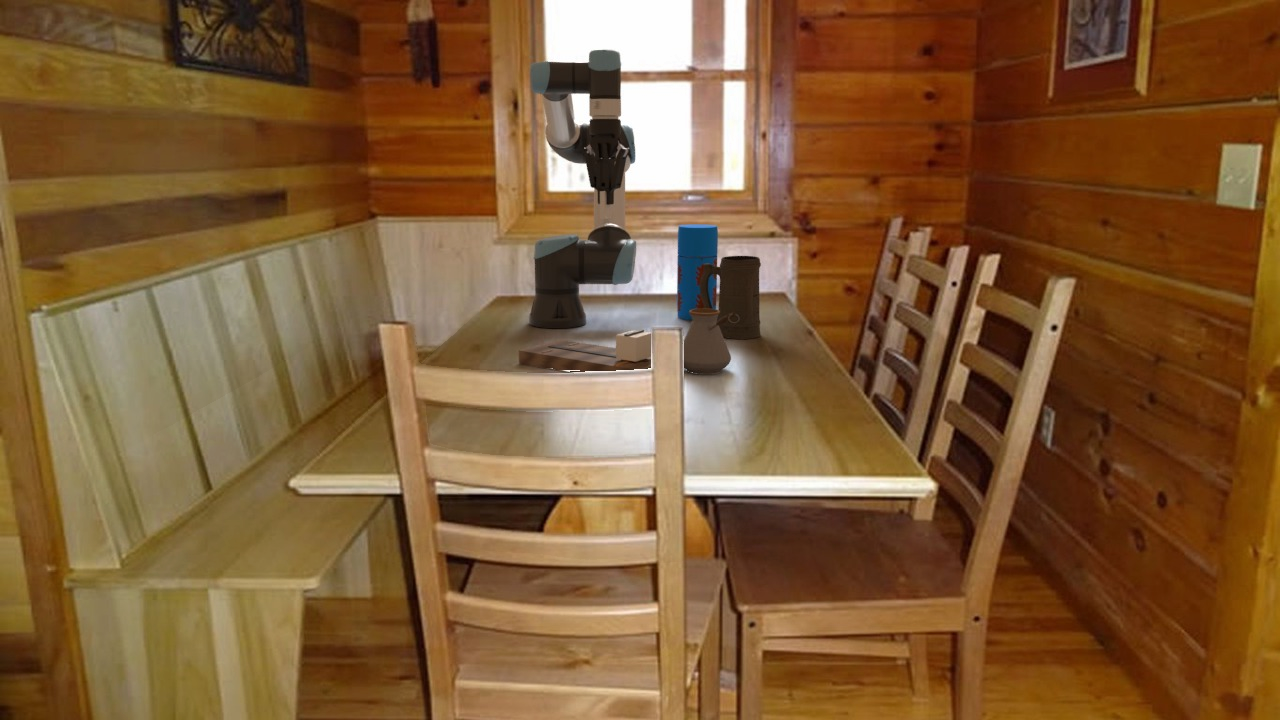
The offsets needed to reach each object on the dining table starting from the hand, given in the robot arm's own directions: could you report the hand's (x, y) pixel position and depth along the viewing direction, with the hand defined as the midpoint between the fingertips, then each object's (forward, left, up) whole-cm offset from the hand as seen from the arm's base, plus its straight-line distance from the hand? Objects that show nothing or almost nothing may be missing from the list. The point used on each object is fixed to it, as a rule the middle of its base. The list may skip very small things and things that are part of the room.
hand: (605, 218), depth 228 cm
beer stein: (+25, +18, -29) cm, 43 cm away
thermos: (+5, +35, -29) cm, 46 cm away
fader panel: (+19, -29, -29) cm, 45 cm away
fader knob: (+29, -29, -26) cm, 48 cm away
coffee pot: (+43, -21, -29) cm, 56 cm away
